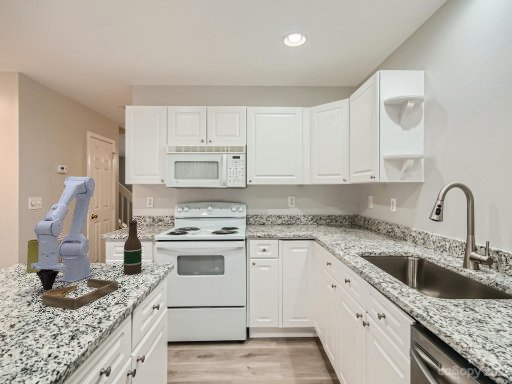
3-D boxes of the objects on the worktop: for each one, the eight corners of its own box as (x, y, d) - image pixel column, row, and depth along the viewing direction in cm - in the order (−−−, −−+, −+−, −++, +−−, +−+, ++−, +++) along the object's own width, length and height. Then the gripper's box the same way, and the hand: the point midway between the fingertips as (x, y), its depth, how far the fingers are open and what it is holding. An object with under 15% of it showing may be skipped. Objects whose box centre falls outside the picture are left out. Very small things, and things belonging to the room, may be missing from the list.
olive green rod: (35, 268, 125) (35, 238, 125) (46, 269, 124) (47, 239, 124) (22, 272, 119) (22, 241, 119) (34, 273, 118) (34, 241, 118)
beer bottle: (136, 269, 126) (136, 219, 126) (145, 272, 122) (145, 220, 122) (119, 273, 120) (120, 220, 120) (128, 276, 115) (129, 222, 115)
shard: (78, 288, 102) (78, 283, 102) (84, 293, 97) (84, 288, 97) (42, 296, 94) (42, 291, 94) (47, 302, 89) (47, 297, 89)
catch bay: (89, 285, 103) (89, 278, 103) (117, 289, 100) (118, 281, 100) (42, 304, 86) (42, 295, 86) (75, 309, 83) (75, 300, 83)
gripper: (21, 253, 95) (21, 291, 95) (52, 256, 91) (52, 295, 91) (42, 249, 102) (41, 284, 102) (71, 252, 98) (71, 288, 98)
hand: (48, 289), depth 97 cm, fingers closed
